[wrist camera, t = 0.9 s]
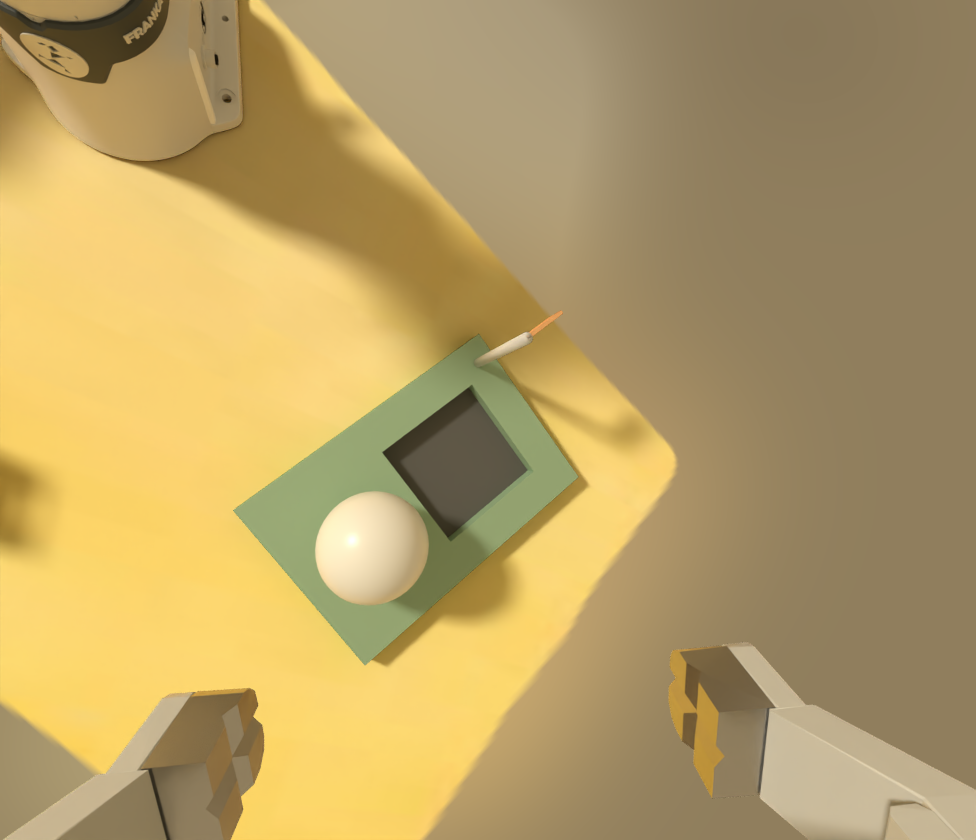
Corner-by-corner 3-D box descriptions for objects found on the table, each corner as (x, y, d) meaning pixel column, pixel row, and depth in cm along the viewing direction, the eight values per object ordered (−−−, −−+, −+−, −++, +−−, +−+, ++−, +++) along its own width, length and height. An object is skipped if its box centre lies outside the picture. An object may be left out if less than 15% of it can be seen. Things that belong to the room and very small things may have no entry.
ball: (325, 481, 48) (323, 492, 38) (425, 491, 51) (446, 504, 41) (309, 584, 47) (303, 621, 37) (411, 588, 50) (430, 624, 40)
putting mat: (363, 656, 50) (377, 753, 35) (237, 507, 47) (190, 541, 32) (582, 465, 59) (669, 475, 43) (487, 327, 55) (545, 286, 40)
